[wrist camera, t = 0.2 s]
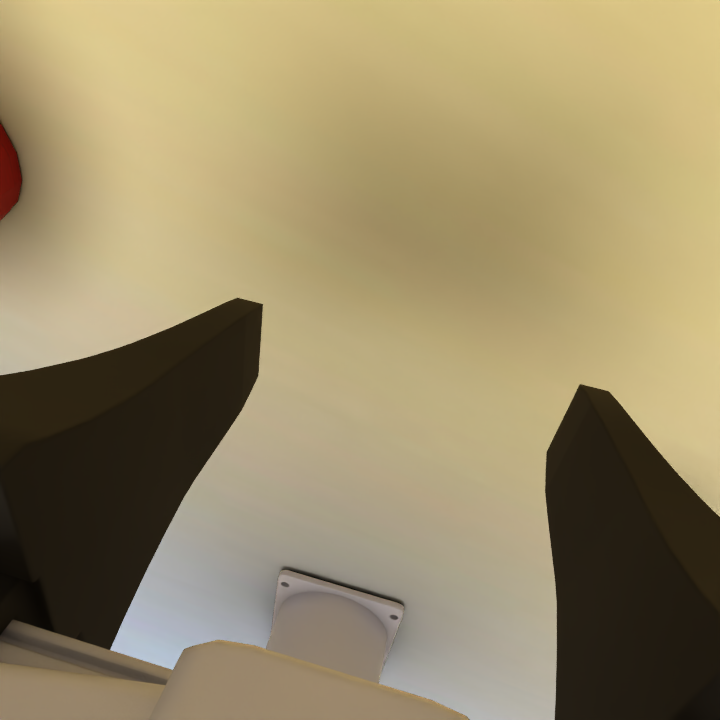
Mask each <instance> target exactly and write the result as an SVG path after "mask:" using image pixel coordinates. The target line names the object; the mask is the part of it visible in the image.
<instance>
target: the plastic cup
mask: <svg viewBox="0 0 720 720" xmlns="http://www.w3.org/2000/svg"><path fill="white" fill-rule="evenodd" d="M21 182H22V178H21V173H20V168H19V163H18V158H17V153H16V151H15V149H14V148H13V146H12V144H11V142H10V140H9V138H8V136H7V134H6V132H5V130H4V129H3V127H2V125H1V124H0V221H1V219H2V218H3V217H4V216H5V215H6V214H7V213H8V212H9V211H10V210H11V208H12V207H13V206H14V205H15V204H16V203H17V202H18V197H19V192H20V187H21Z"/></svg>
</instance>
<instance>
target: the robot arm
mask: <svg viewBox="0 0 720 720" xmlns="http://www.w3.org/2000/svg"><path fill="white" fill-rule="evenodd" d="M262 310H263V304H260V303H256V302H252V301H248V300H244V299H240V298H236V299H233V300H231V301H228V302H226V303H224V304H222V305H219V306H217V307H215V308H213V309H211V310H209V311H206V312H204V313H202V314H200V315H198V316H196V317H193V318H191V319H189V320H187V321H185V322H182V323H180V324H178V325H176V326H174V327H171V328H169V329H167V330H164V331H162V332H159V333H156V334H154V335H151V336H149V337H146V338H144V339H141V340H139V341H136V342H134V343H131V344H128V345H126V346H123V347H120V348H117V349H114V350H111V351H107V352H104V353H101V354H97V355H94V356H90V357H87V358H83V359H79V360H75V361H71V362H66V363H62V364H57V365H53V366H48V367H44V368H40V369H35V370H30V371H24V372H18V373H12V374H6V375H0V720H470V719H469V718H468V717H467V716H465V715H463V714H460V713H458V712H456V711H454V710H452V709H450V708H448V707H445V706H443V705H441V704H439V703H437V702H435V701H432V700H430V699H426V698H423V697H420V696H417V695H413V694H410V693H407V692H404V691H400V690H397V689H394V688H391V687H388V686H384V685H381V684H379V680H380V675H381V673H382V670H383V667H384V665H385V662H386V659H387V657H388V654H389V651H390V649H391V646H392V643H393V641H394V638H395V635H396V633H397V630H398V628H399V625H400V622H401V620H402V617H403V614H404V607H403V606H402V605H401V604H399V603H397V602H393V601H390V600H386V599H383V598H380V597H376V596H373V595H370V594H366V593H363V592H359V591H356V590H353V589H349V588H346V587H343V586H339V585H336V584H333V583H329V582H326V581H322V580H319V579H316V578H312V577H309V576H306V575H302V574H299V573H296V572H292V571H289V570H282V571H281V572H280V574H279V576H278V582H277V590H276V598H275V606H274V613H273V621H272V629H271V635H270V638H269V641H268V644H267V646H266V649H264V648H261V647H258V646H255V645H249V644H243V643H236V642H230V641H224V640H216V641H211V642H207V643H203V644H199V645H194V646H192V647H189V648H186V649H184V650H183V652H182V654H181V656H180V658H179V659H178V661H177V663H176V665H175V667H174V669H173V670H171V669H168V668H164V667H161V666H158V665H155V664H152V663H149V662H146V661H142V660H139V659H136V658H133V657H130V656H127V655H123V654H120V653H117V652H114V651H111V650H110V648H111V646H112V644H113V642H114V639H115V637H116V635H117V633H118V630H119V628H120V626H121V624H122V621H123V619H124V617H125V615H126V613H127V610H128V608H129V606H130V604H131V602H132V600H133V598H134V596H135V593H136V591H137V589H138V587H139V585H140V583H141V581H142V579H143V576H144V574H145V572H146V570H147V568H148V566H149V564H150V562H151V560H152V558H153V556H154V554H155V552H156V550H157V548H158V546H159V544H160V542H161V540H162V538H163V536H164V534H165V532H166V530H167V528H168V527H169V525H170V523H171V521H172V519H173V517H174V515H175V513H176V511H177V509H178V508H179V506H180V504H181V502H182V500H183V498H184V496H185V495H186V493H187V491H188V490H189V488H190V486H191V485H192V483H193V482H194V480H195V478H196V477H197V476H198V474H199V473H200V471H201V470H202V468H203V467H204V465H205V464H206V462H207V461H208V459H209V458H210V456H211V455H212V453H213V452H214V451H215V449H216V448H217V446H218V445H219V443H220V442H221V440H222V439H223V437H224V436H225V434H226V433H227V431H228V430H229V428H230V427H231V425H232V424H233V422H234V421H235V419H236V418H237V416H238V415H239V413H240V412H241V410H242V408H243V406H244V404H245V402H246V400H247V398H248V396H249V394H250V392H251V390H252V388H253V386H254V384H255V382H256V379H257V377H258V372H259V356H260V341H261V325H262ZM545 493H546V504H547V513H548V522H549V531H550V540H551V548H552V557H553V565H554V574H555V583H556V597H557V671H556V706H555V720H720V517H719V516H718V515H717V514H716V513H715V512H714V511H713V510H712V509H711V508H710V507H709V506H708V505H707V504H706V503H705V502H704V501H703V500H702V499H701V498H700V497H699V496H698V495H697V494H696V493H695V492H694V491H693V490H692V489H691V488H690V487H689V485H688V484H687V483H686V482H685V481H684V480H683V479H682V478H681V477H680V476H679V475H678V474H677V472H676V471H675V470H674V469H673V468H672V467H671V466H670V465H669V463H668V462H667V461H666V460H665V459H664V458H663V456H662V455H661V454H660V453H659V452H658V450H657V449H656V448H655V447H654V446H653V444H652V443H651V442H650V441H649V440H648V438H647V437H646V436H645V435H644V433H643V432H642V431H641V430H640V428H639V427H638V426H637V425H636V423H635V422H634V421H633V420H632V418H631V417H630V416H629V415H628V413H627V412H626V411H625V410H624V409H623V407H622V406H621V405H620V404H619V402H618V401H617V400H616V399H615V398H614V397H613V396H612V395H611V393H610V392H609V391H605V390H601V389H597V388H593V387H589V386H585V385H581V384H580V385H579V387H578V389H577V391H576V393H575V396H574V398H573V400H572V402H571V404H570V406H569V408H568V410H567V412H566V414H565V416H564V418H563V420H562V422H561V424H560V426H559V428H558V430H557V432H556V434H555V436H554V438H553V440H552V442H551V444H550V447H549V449H548V451H547V458H546V485H545Z"/></svg>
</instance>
